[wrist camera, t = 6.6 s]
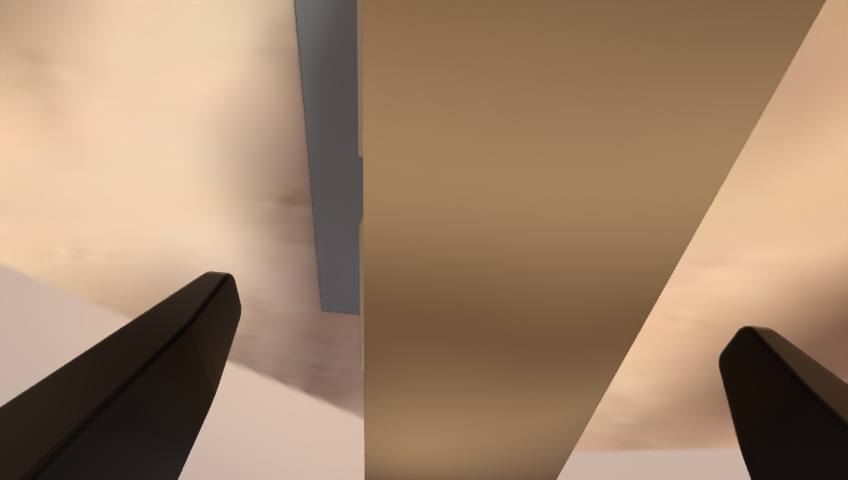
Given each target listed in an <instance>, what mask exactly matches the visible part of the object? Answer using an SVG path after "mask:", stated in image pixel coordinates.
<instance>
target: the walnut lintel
mask: <svg viewBox="0 0 848 480" xmlns="http://www.w3.org/2000/svg"><path fill="white" fill-rule="evenodd" d="M825 1H826V0H362V14H363V223H364V426H365V427H364V433H365V480H556V479H557V477H558V476H559V474H560V472H561V470H562V468H563V467H564V465H565V463H566V461H567V460H568V458H569V456H570V454H571V453H572V451H573V449H574V447H575V445H576V444H577V442H578V440H579V438H580V437H581V435H582V433H583V431H584V429H585V428H586V426H587V424H588V422H589V421H590V419H591V417H592V415H593V413H594V412H595V410H596V408H597V406H598V405H599V403H600V401H601V399H602V397H603V396H604V394H605V392H606V390H607V389H608V387H609V385H610V383H611V381H612V380H613V378H614V376H615V374H616V373H617V371H618V369H619V367H620V365H621V364H622V362H623V360H624V358H625V357H626V355H627V353H628V351H629V349H630V348H631V346H632V344H633V342H634V341H635V339H636V337H637V335H638V333H639V332H640V330H641V328H642V326H643V325H644V323H645V321H646V319H647V317H648V316H649V314H650V312H651V310H652V309H653V307H654V305H655V303H656V302H657V300H658V298H659V296H660V294H661V293H662V291H663V289H664V287H665V286H666V284H667V282H668V280H669V278H670V277H671V275H672V273H673V271H674V270H675V268H676V266H677V264H678V262H679V261H680V259H681V257H682V255H683V254H684V252H685V250H686V248H687V246H688V245H689V243H690V241H691V239H692V238H693V236H694V234H695V232H696V230H697V229H698V227H699V225H700V223H701V222H702V220H703V218H704V216H705V214H706V213H707V211H708V209H709V207H710V206H711V204H712V202H713V200H714V198H715V197H716V195H717V193H718V191H719V190H720V188H721V186H722V184H723V182H724V181H725V179H726V177H727V175H728V174H729V172H730V170H731V168H732V166H733V165H734V163H735V161H736V159H737V158H738V156H739V154H740V152H741V150H742V149H743V147H744V145H745V143H746V142H747V140H748V138H749V136H750V134H751V133H752V131H753V129H754V127H755V126H756V124H757V122H758V120H759V119H760V117H761V115H762V113H763V111H764V110H765V108H766V106H767V104H768V103H769V101H770V99H771V97H772V95H773V94H774V92H775V90H776V88H777V87H778V85H779V83H780V81H781V79H782V78H783V76H784V74H785V72H786V71H787V69H788V67H789V65H790V63H791V62H792V60H793V58H794V56H795V55H796V53H797V51H798V49H799V47H800V46H801V44H802V42H803V40H804V39H805V37H806V35H807V33H808V31H809V30H810V28H811V26H812V24H813V23H814V21H815V19H816V17H817V15H818V14H819V12H820V10H821V8H822V7H823V5H824V3H825Z"/></svg>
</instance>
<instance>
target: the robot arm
mask: <svg viewBox="0 0 848 480" xmlns="http://www.w3.org/2000/svg"><path fill="white" fill-rule="evenodd" d="M240 316H241V303H240V299H239V295H238V291H237V287H236V282H235V279H234V277H233V276H232V275H231V274H229V273H223V272H213V271H210V272H206V273H204V274H203V275H201V276H199V277H198V278H196V279H195V280H193V281H192V282H190V283H189V284H187V285H186V286H184V287H183V288H181V289H180V290H178V291H177V292H175V293H174V294H172V295H170V296H169V297H167V298H166V299H164V300H163V301H161V302H160V303H158V304H157V305H155V306H154V307H152V308H151V309H149V310H148V311H146V312H145V313H143V314H141V315H140V316H138V317H137V318H135V319H134V320H132V321H131V322H129V323H128V324H126V325H125V326H123V327H122V328H120V329H119V330H117V331H116V332H114V333H113V334H111V335H109V336H108V337H106V338H105V339H103V340H102V341H100V342H99V343H97V344H96V345H94V346H93V347H91V348H90V349H88V350H87V351H85V352H84V353H82V354H81V355H79V356H77V357H76V358H74V359H73V360H71V361H70V362H68V363H67V364H65V365H64V366H62V367H61V368H59V369H58V370H56V371H55V372H53V373H52V374H50V375H48V376H47V377H45V378H44V379H42V380H41V381H39V382H38V383H36V384H35V385H33V386H32V387H30V388H29V389H27V390H26V391H24V392H22V393H21V394H19V395H18V396H16V397H15V398H13V399H12V400H10V401H9V402H7V403H6V404H4V405H3V406H1V407H0V480H178V478H179V476H180V474H181V471H182V469H183V467H184V465H185V462H186V460H187V458H188V455H189V454H190V451H191V449H192V447H193V445H194V442H195V440H196V438H197V436H198V433H199V431H200V429H201V427H202V424H203V422H204V420H205V418H206V416H207V413H208V411H209V409H210V407H211V404H212V402H213V399H214V397H215V394H216V391H217V389H218V386H219V383H220V380H221V376H222V373H223V370H224V367H225V364H226V361H227V358H228V355H229V351H230V348H231V345H232V342H233V339H234V336H235V333H236V329H237V326H238V323H239V320H240ZM719 369H720V373H721V377H722V381H723V385H724V389H725V393H726V397H727V401H728V404H729V408H730V412H731V416H732V420H733V424H734V428H735V432H736V436H737V439H738V443H739V446H740V450H741V453H742V456H743V458H744V461H745V464H746V467H747V470H748V472H749V475H750V478H751V480H848V384H847V383H845V382H844V381H843V380H841V379H840V378H839V377H837V376H836V375H834V374H833V373H832V372H830V371H829V370H828V369H826V368H825V367H823V366H822V365H821V364H819V363H818V362H817V361H815V360H814V359H812V358H811V357H810V356H808V355H807V354H806V353H804V352H803V351H801V350H800V349H799V348H797V347H796V346H795V345H793V344H792V343H790V342H789V341H788V340H786V339H785V338H784V337H782V336H781V335H779V334H778V333H777V332H775V331H774V330H772V329H770V328H766V327H756V326H744V327H742V328H740V329H739V330H738V332H737V333H736V334H735V335H734V337H733V338H732V339H731V341H730V342H729V343H728V345H727V346H726V347H725V349H724V350H723V351H722V353H721V354H720V357H719Z"/></svg>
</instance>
